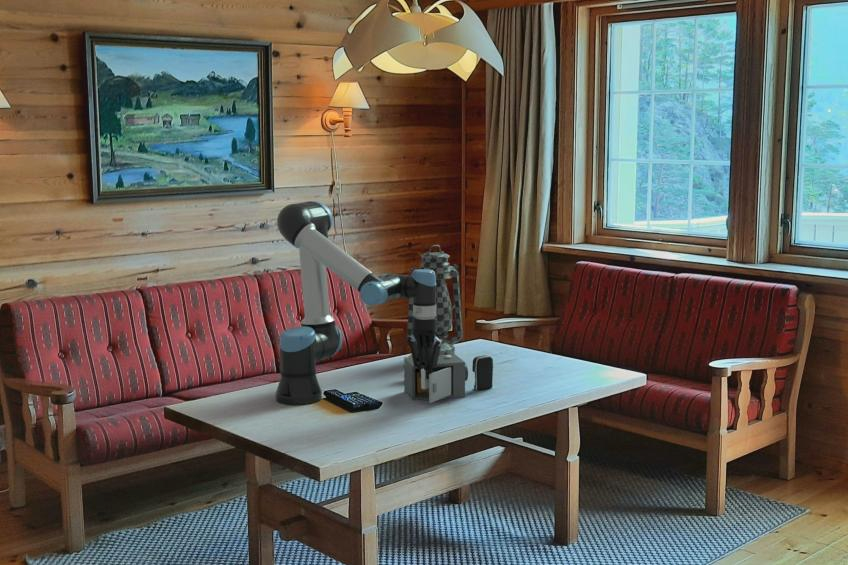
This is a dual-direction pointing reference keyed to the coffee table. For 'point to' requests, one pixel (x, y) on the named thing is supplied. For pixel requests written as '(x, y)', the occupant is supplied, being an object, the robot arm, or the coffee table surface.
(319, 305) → the robot arm
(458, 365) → the small grey cabinet
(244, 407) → the coffee table surface
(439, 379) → the cabinet door
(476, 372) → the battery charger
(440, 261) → the lantern
